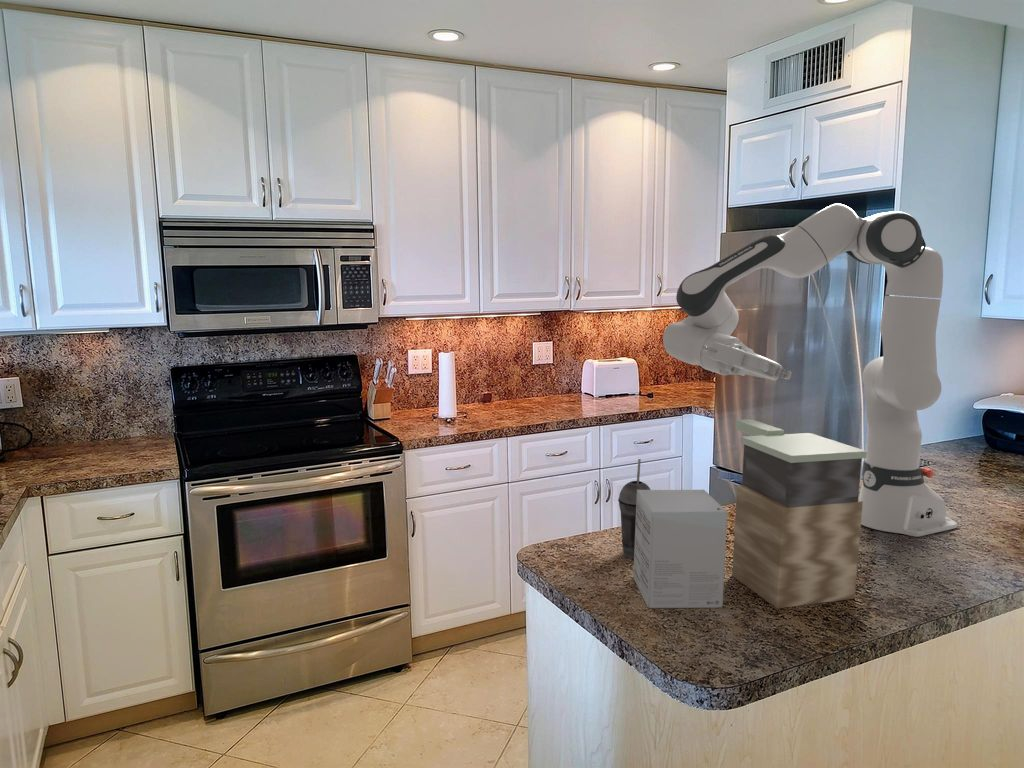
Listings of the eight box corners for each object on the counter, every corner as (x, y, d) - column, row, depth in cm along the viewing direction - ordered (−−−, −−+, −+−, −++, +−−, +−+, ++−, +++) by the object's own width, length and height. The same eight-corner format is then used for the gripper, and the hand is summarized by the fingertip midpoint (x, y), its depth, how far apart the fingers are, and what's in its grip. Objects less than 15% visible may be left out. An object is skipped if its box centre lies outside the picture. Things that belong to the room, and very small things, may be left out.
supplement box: (701, 577, 135) (705, 488, 133) (723, 608, 122) (729, 511, 120) (632, 577, 135) (635, 488, 132) (647, 609, 122) (651, 511, 119)
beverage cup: (611, 557, 144) (614, 462, 141) (623, 545, 150) (626, 454, 148) (646, 564, 141) (649, 466, 138) (656, 552, 147) (660, 458, 144)
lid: (774, 427, 147) (775, 417, 147) (866, 457, 122) (867, 446, 122) (709, 430, 143) (710, 420, 143) (791, 462, 118) (791, 451, 118)
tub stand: (803, 567, 140) (813, 439, 136) (854, 598, 126) (866, 457, 123) (731, 575, 136) (739, 443, 132) (776, 608, 122) (786, 462, 119)
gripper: (702, 331, 151) (758, 347, 141) (751, 350, 165) (806, 366, 154) (692, 359, 152) (747, 377, 142) (742, 375, 165) (795, 393, 155)
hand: (778, 371), depth 148 cm, fingers open, 8 cm apart
